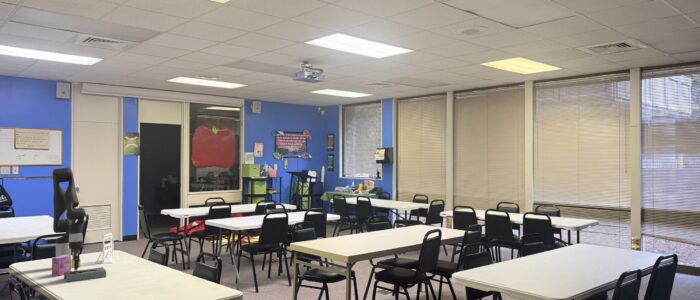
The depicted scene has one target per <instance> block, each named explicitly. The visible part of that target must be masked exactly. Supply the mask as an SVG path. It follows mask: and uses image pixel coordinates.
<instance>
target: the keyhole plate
mask: <svg viewBox="0 0 700 300" xmlns="http://www.w3.org/2000/svg"><path fill="white" fill-rule="evenodd" d="M106 277H107V270H106V269H105V268H104V267H93V268H87V269H80V270H79V269H78V273H77V274H74V270H71V271H69V272H64V275H63V279H64V280H65V282H66V283H73V282H80V281H86V280H93V279H101V278H106Z"/></svg>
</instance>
